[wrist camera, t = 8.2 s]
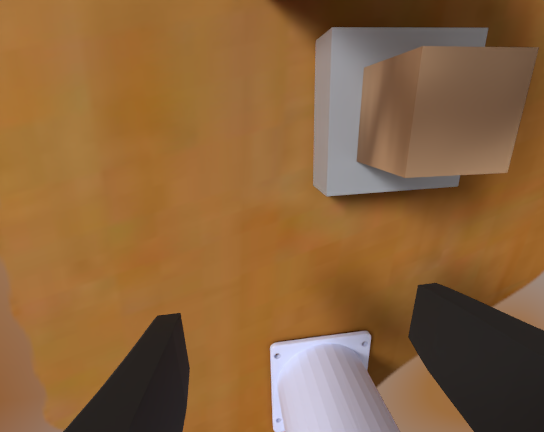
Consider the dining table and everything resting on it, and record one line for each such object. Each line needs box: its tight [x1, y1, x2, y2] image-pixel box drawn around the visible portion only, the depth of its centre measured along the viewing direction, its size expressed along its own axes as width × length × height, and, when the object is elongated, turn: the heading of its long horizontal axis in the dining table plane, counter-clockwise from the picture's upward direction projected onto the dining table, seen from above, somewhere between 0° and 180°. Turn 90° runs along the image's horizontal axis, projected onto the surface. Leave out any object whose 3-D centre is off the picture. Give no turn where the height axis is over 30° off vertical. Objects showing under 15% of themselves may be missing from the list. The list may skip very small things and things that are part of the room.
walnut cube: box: [357, 46, 539, 178], centre depth 13 cm, size 4×4×4 cm
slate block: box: [313, 27, 488, 196], centre depth 16 cm, size 8×8×3 cm
